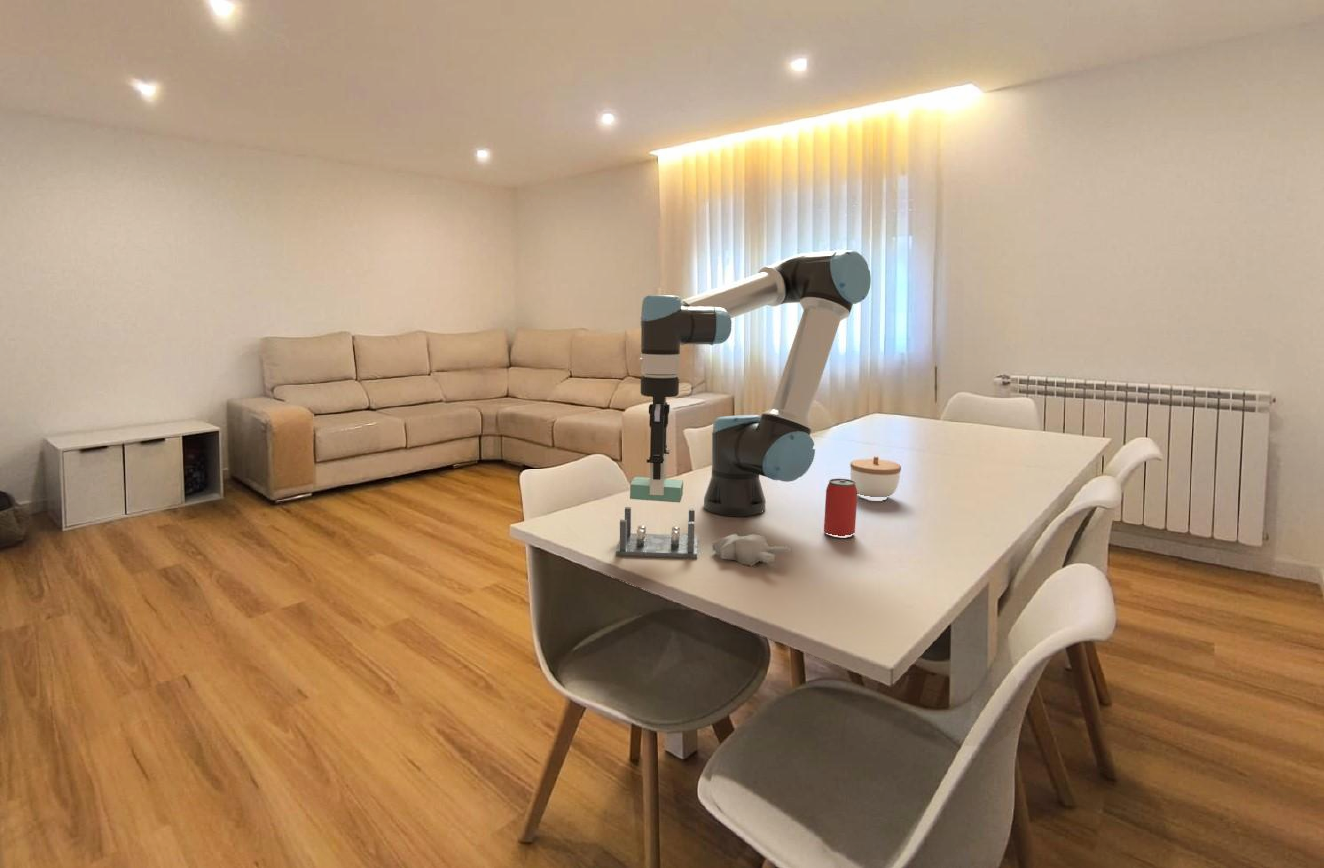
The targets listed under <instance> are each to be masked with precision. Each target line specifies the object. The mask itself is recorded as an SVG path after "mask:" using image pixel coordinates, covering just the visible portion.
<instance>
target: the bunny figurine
mask: <svg viewBox="0 0 1324 868" xmlns="http://www.w3.org/2000/svg"><path fill="white" fill-rule="evenodd" d="M711 545H712V551H713V552H714V551H715V553H716V554H717V556H718V557H719V558H721V559H723V560H734V561H737V562H738V563H739V564H742V565H746V566H747V565H748V566H750V565H754V566H755V564H756V563H767V564H768V563H769V564H770V563H772V562H775V557H776V554H785V555H789V554H792V551H791V548H790V546H785V545H783V546H782V545H780V546H776V545H775V546H769V544H768V542H767V540H766V538H765V536H763V535H759V534H748V535H744V536H743V535H741V536H739V535H738V534H737V533H732V534H729V535H728V536H725V537H722V538H720V539H717V540H716V541H714V542H712V543H711ZM759 561H760V562H759ZM761 561H762V562H761Z"/></svg>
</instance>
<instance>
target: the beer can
mask: <svg viewBox="0 0 1324 868" xmlns="http://www.w3.org/2000/svg"><path fill="white" fill-rule="evenodd" d="M855 484H856V483H855V482H854V481H852V480H851V479H847V478H841V477H840V478H831V479H829V480H828V484H827V486H826V489H825V503H824V505H825V506H824V517H823V518H824V520H823V532H824V534H825V533H828V534H832V535H838V536H845V535H851V534H853V533H856V521H857V520H856V519H857V505H858V494H857V489H856V486H855Z"/></svg>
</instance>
